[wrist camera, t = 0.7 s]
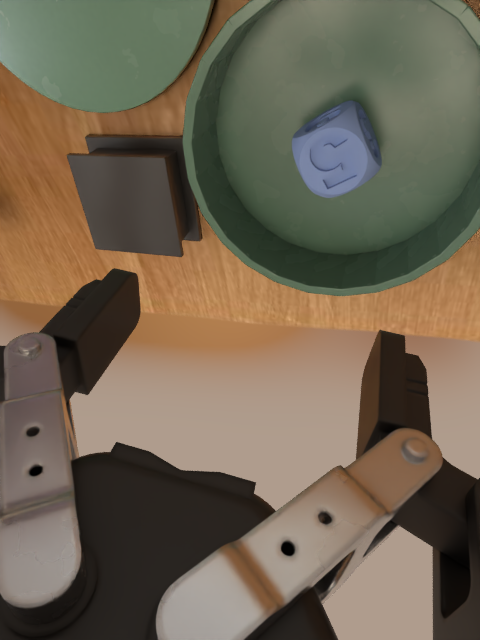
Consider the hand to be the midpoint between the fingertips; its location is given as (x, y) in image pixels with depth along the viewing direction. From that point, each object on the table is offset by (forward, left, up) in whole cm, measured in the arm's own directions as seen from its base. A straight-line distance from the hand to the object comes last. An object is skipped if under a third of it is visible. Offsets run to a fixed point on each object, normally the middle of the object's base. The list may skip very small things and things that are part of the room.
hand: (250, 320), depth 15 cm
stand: (+14, +4, -19) cm, 24 cm away
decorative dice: (-1, 0, -19) cm, 19 cm away
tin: (-1, 0, -19) cm, 19 cm away
